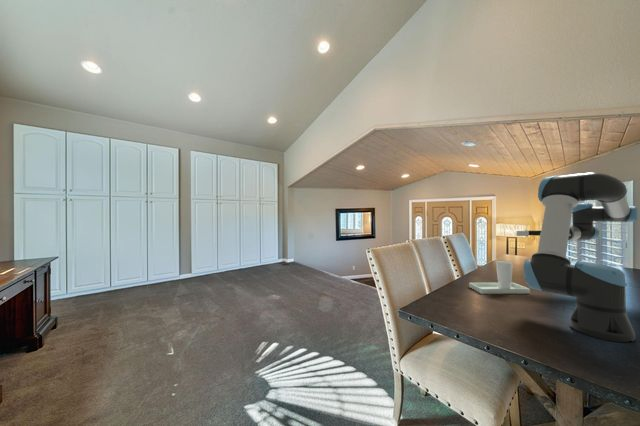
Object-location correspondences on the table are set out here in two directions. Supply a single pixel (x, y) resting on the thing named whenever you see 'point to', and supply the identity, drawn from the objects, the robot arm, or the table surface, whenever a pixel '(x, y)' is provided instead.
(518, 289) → the tray
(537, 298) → the table surface
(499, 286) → the drinking glass
